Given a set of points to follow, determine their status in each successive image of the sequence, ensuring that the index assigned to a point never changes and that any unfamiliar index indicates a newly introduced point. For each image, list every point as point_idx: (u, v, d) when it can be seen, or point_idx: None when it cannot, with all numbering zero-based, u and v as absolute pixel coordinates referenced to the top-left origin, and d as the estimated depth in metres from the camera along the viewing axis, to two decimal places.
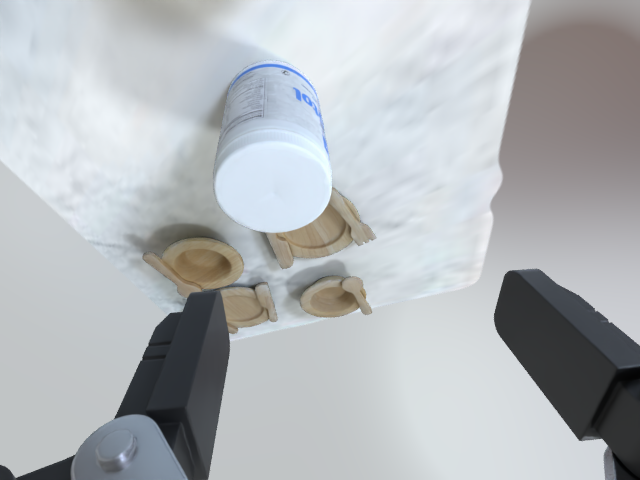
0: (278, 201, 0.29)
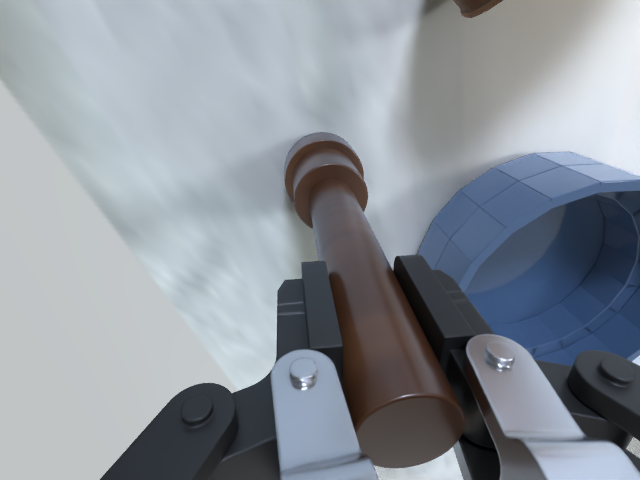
0: None
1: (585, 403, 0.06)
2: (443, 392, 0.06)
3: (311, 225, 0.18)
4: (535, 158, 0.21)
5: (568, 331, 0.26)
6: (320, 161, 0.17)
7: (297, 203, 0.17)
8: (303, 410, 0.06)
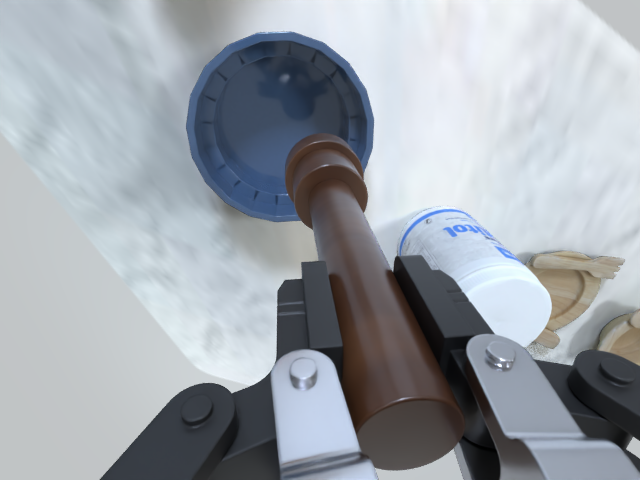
0: (507, 325, 0.30)
1: (586, 403, 0.06)
2: (442, 394, 0.06)
3: (311, 226, 0.18)
4: None
5: None
6: (320, 162, 0.17)
7: (297, 204, 0.17)
8: (303, 410, 0.06)
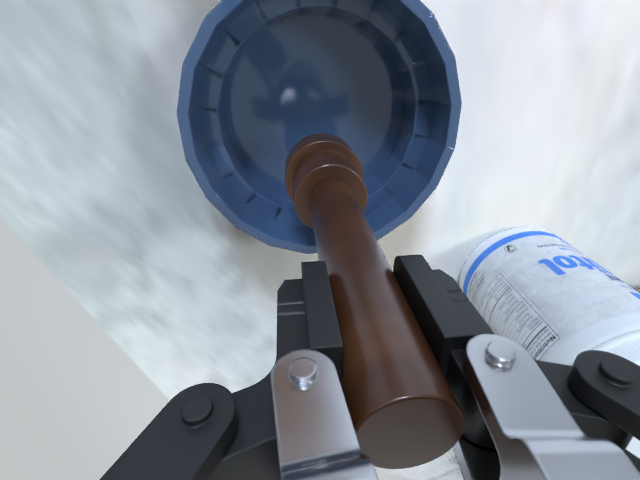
0: None
1: (586, 403, 0.06)
2: (442, 393, 0.06)
3: (311, 226, 0.18)
4: None
5: (369, 194, 0.25)
6: (320, 162, 0.17)
7: (297, 205, 0.17)
8: (303, 410, 0.06)
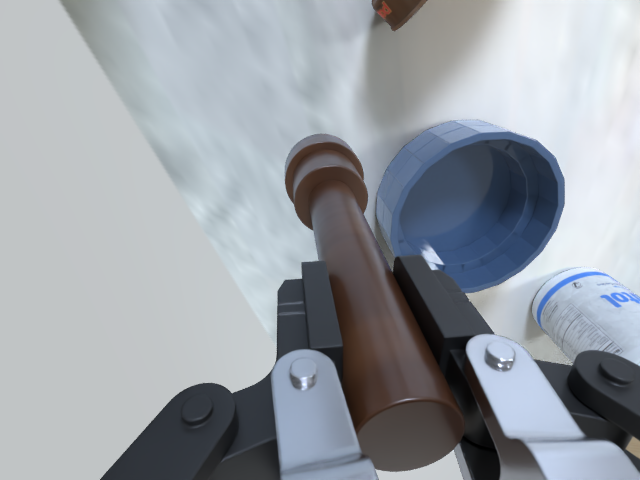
0: None
1: (586, 404, 0.06)
2: (442, 396, 0.06)
3: (311, 227, 0.18)
4: (452, 123, 0.31)
5: (487, 251, 0.36)
6: (320, 162, 0.17)
7: (297, 205, 0.17)
8: (303, 410, 0.06)
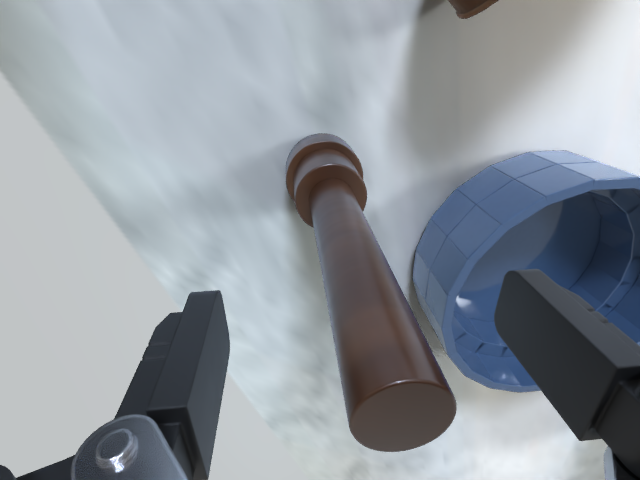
0: None
1: None
2: (434, 379, 0.07)
3: (311, 224, 0.18)
4: (531, 157, 0.21)
5: None
6: (320, 161, 0.17)
7: (298, 203, 0.18)
8: None
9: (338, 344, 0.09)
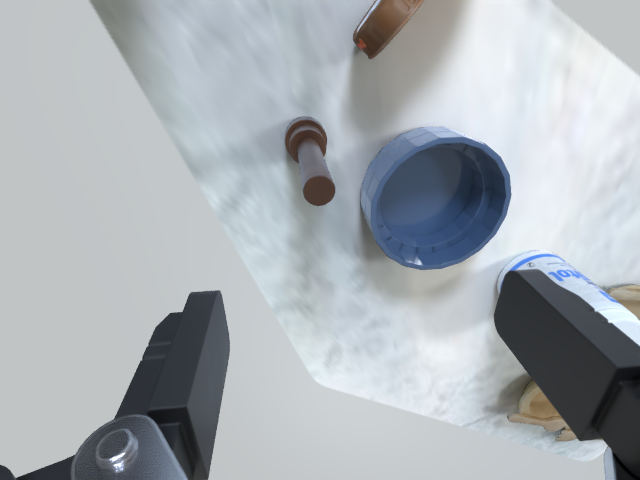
0: None
1: None
2: (327, 176, 0.24)
3: (298, 161, 0.36)
4: (420, 129, 0.39)
5: (453, 235, 0.44)
6: (302, 128, 0.35)
7: (291, 150, 0.35)
8: None
9: (302, 178, 0.26)
